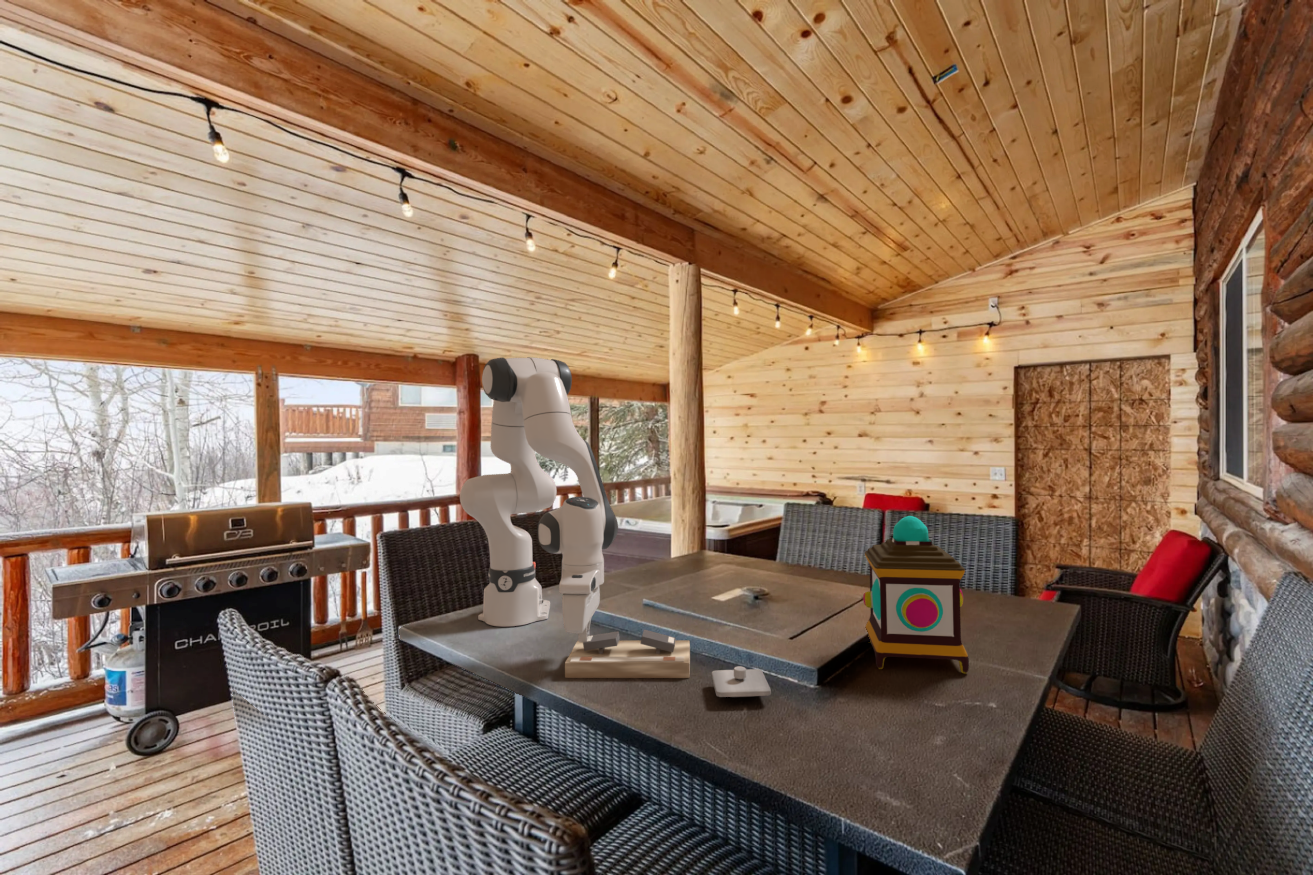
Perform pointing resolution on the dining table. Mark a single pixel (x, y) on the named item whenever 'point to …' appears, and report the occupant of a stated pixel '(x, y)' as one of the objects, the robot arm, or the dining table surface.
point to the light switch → (740, 683)
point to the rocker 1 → (601, 641)
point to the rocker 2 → (658, 640)
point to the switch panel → (629, 661)
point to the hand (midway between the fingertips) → (583, 639)
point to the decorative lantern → (914, 598)
